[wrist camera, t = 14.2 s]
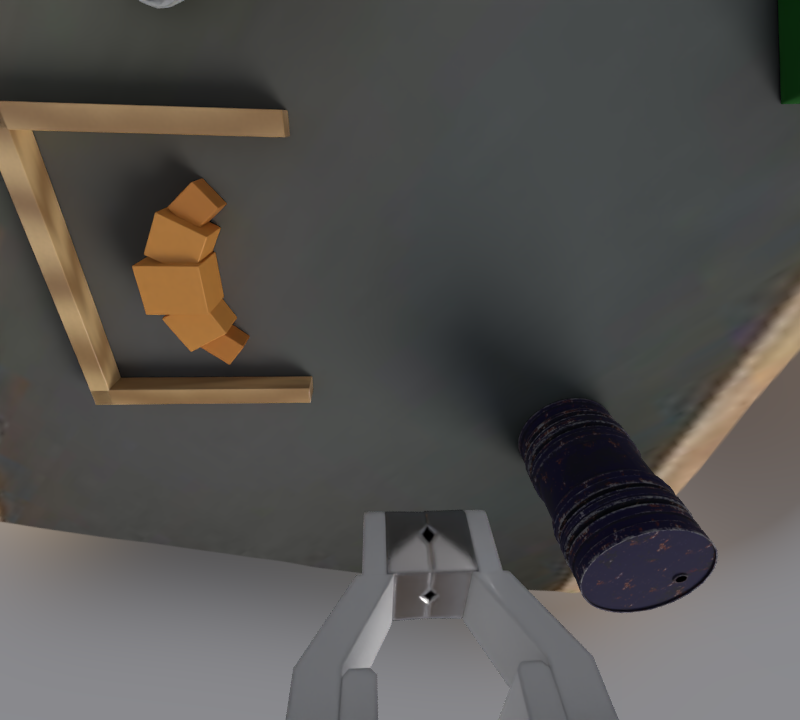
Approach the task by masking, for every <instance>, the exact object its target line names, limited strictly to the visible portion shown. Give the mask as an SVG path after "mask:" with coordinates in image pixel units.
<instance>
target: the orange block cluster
mask: <svg viewBox="0 0 800 720" xmlns="http://www.w3.org/2000/svg"><path fill="white" fill-rule="evenodd" d="M226 204H227V203H226V202H225V201H224V200H223V199H222V198H221V197H220V196H219V195H218V194H217V193H216V192H215V191H214V190H213V189H212V188H211V187H210V186H209V185H208V184H207V183H206V182H205V180H204V179H202V178H201V179H199V180H196V181H193V182H191V183H190V184H189V185H188V186H187V187H186V188H185V189H184V190H183V191H182V192H181V193H180V194H179V195H178V196H177V197H176V198H175V200H174V201H173V202H172V203H171V204H170V205H169V206H168V207H167V208H164V209H162V210H160V211H157V212H155V215H154V218H153V222H152V226H151V229H150V233H149V237H148V240H147V244H146V248H145V251H144V255H146V256H148V257H146V258H144V259H143V260H141V261H139V262H138V263H136V264H134V265H133V266H132V268H133V272H134V275H135V278H136V281H137V285H138V288H139V291H140V295H141V298H142V301H143V305H144V308H145V311H146V314H147V315H165V316H164V317H163V318H162V319H163V321H164V322H165V323H166V324H167V325H168V326H169V327H170V329H171V330H172V331H173V332H174V333H175V334H176V335H177V337H178V338H179V339H180V340H181V341H182V342H183V343H184V345H185V346H186V347H187V348H188V349H189V350H190V351H194V350H196V349H197V348H199V347H201V348H203V349H204V350H206V351H208V352H209V353H211V354H213V355H214V356H216V357H218V358H219V359H221V360H222V361H224V362H226V363H227V364H229V365H230V364H231V363H232V361H233V360H234V359H235V357H236V356H237V355H238V354H239V352H240V351H241V350H242V349H243V347H244V346H245V344H246V342H247V340H248V339H249V337H250V336H249V335H247V334H246V333H244V332H243V331H241V330H240V329H238V328H237V327H235V326H234V325H232V324H233V323H234V321H235V320H236V318H237V317H236V315H235V314H234V313H233V312H232V310H231V309H230V308H229V306H228V305H227V304H226V303H225V301H224V300H223V299H222V298H223V297H224V294H223V289H222V284H221V279H220V274H219V269H218V264H217V259H216V253H215V252H213V249H214V246H215V243H216V240H217V237H218V234H219V231H220V229H221V228H220V227H219V226H217V225H215V224H213V223H211V222H209V221H210V220H211V219H212V218H213V217H214V216H215V215H216V214H217V213H218V212H219V211H220V210H221V209H222V208H223V207H224V206H225V205H226Z"/></svg>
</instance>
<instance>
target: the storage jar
mask: <svg viewBox="0 0 800 720" xmlns="http://www.w3.org/2000/svg"><path fill="white" fill-rule="evenodd" d="M518 446H519V451H520V454H521V456H522V458H523V460H524V462H525V465H526V470H527V472H528V475H529V477H530V479H531V482H532V483H533V486H534V488H535V490H536V491H537V493H538V495H539V497H540V498H541V500H543V501H544V502H545V504H546V507H547V509H548V511H549V513H550V516H551V518H552V520H553V521H552V524H553V529H554V534H555V537H556V540H557V542H558V543H559V544H560V548H561V551H562V553H563V555H564V558H565V560H566V562H567V564H568V566H569V567H570V568H571V570H572V573H573V575H574V577H575V579H576V581H577V584H578V586H579V589H580V591H581V593H582V595H583V597H584V598H585V600H586V601H587V602H588V603H590V604H591V605H592V606H594V607H596V608H599V609H601V610H605V611H610V612H619V613H631V612H640V611H646V610H651V609H654V608H657V607H661V606H664V605H667V604H669V603H672V602H674V601H676V600H679V599H681V598H682V597H684V596H686V595H688V594H689V593H691V592H692V591H694V590H695V589H697V588H698V587H699V586H700V585H701V584H702V583H703V582H704V581H705V580H706V579H707V578H708V577H709V576H710V574H711V573H712V572H713V570H714V568H715V566H716V563H717V557H718V555H717V549H716V547H715V545H714V544H713V542H712V541H711V540H710V539H709V538H708V536H707V535H706V534H705V533H704V531H703V530H701V528H700V526H699V525H698V524H697V522H696V521H695V520H694V519H693V517H692V514H691V513H690V512H689V510H688V509H687V508H686V507H685V505H684V504H683V503H682V501H681V500H680V499H679V498H678V497H677V496H675V493H674V491H673V490H672V489H671V487H670V486H669V485H667V484H666V483H665V482H664V481H663V480H662V479H660V478H659V477H657V476H655V475H654V473H653V472H652V471H651V469H650V468H649V467H648V466H647V464H646V463H645V462H644V461H643V459H642V458H641V454H640V452H639V450H638V448H637V447H636V446H635V444H634V443H633V442H632V440H631V439H630V437H629V435H628V434H627V433H626V432H625V430H624V429H623V428H622V427H621V425H620V424H619V423H617V422H616V421H615V420H614V419H613V418H612V416H611V415H610V414H609V412H608V411H607V410H606V409H605V408H604V407H603V406H602V405H600V404H599V403H597V402H595V401H592V400H588V399H582V398H572V399H564V400H560V401H557V402H554V403H552V404H549V405H547V406H545V407H543V408H542V409H540V410H539V411H537V412H536V413H535V414H534V415H533V416H532V417H531V418H530V419H529V420H528V421H527V422H526V424H525V425H524V427H523V428H522V431H521V433H520V436H519V443H518Z"/></svg>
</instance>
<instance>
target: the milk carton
mask: <svg viewBox="0 0 800 720" xmlns="http://www.w3.org/2000/svg"><path fill="white" fill-rule="evenodd" d="M778 17H779V50H780V82H781V104H800V0H778Z"/></svg>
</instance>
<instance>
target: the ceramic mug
mask: <svg viewBox="0 0 800 720" xmlns="http://www.w3.org/2000/svg"><path fill="white" fill-rule="evenodd" d="M139 1H141V2H142V3H144V4H147V5H150V6H152V7H155V8H170V7H172V6H174V5H176V4H178V3H180V2H182V1H184V0H139Z"/></svg>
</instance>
